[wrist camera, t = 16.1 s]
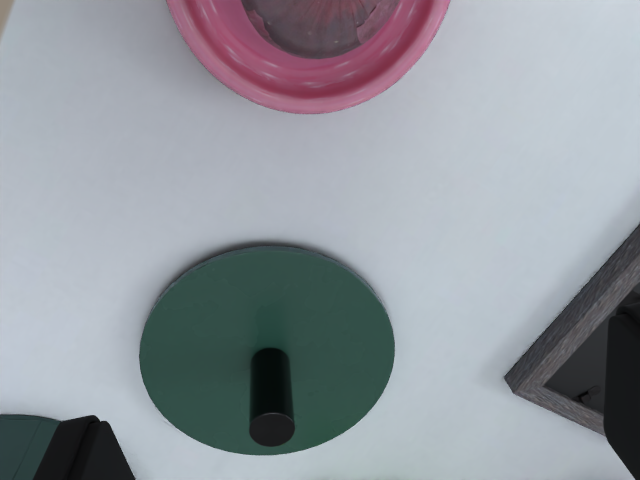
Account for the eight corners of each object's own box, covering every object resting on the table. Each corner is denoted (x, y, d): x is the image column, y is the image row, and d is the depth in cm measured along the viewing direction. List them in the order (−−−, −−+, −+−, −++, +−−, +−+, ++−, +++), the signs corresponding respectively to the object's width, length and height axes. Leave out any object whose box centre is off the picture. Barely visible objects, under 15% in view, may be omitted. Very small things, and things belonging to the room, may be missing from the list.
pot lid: (103, 395, 35) (72, 483, 29) (212, 195, 30) (200, 252, 24) (313, 468, 40) (323, 556, 34) (438, 305, 35) (475, 376, 29)
